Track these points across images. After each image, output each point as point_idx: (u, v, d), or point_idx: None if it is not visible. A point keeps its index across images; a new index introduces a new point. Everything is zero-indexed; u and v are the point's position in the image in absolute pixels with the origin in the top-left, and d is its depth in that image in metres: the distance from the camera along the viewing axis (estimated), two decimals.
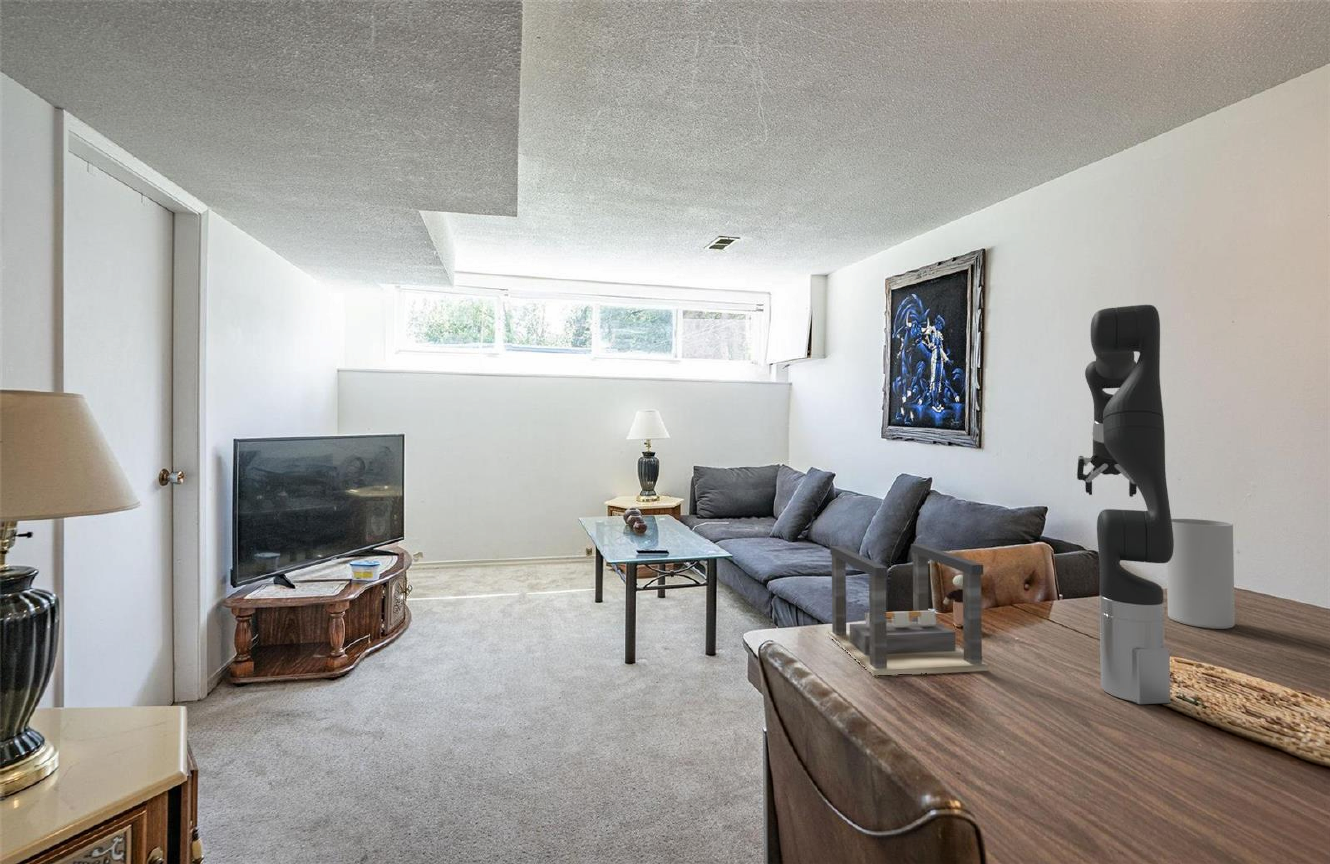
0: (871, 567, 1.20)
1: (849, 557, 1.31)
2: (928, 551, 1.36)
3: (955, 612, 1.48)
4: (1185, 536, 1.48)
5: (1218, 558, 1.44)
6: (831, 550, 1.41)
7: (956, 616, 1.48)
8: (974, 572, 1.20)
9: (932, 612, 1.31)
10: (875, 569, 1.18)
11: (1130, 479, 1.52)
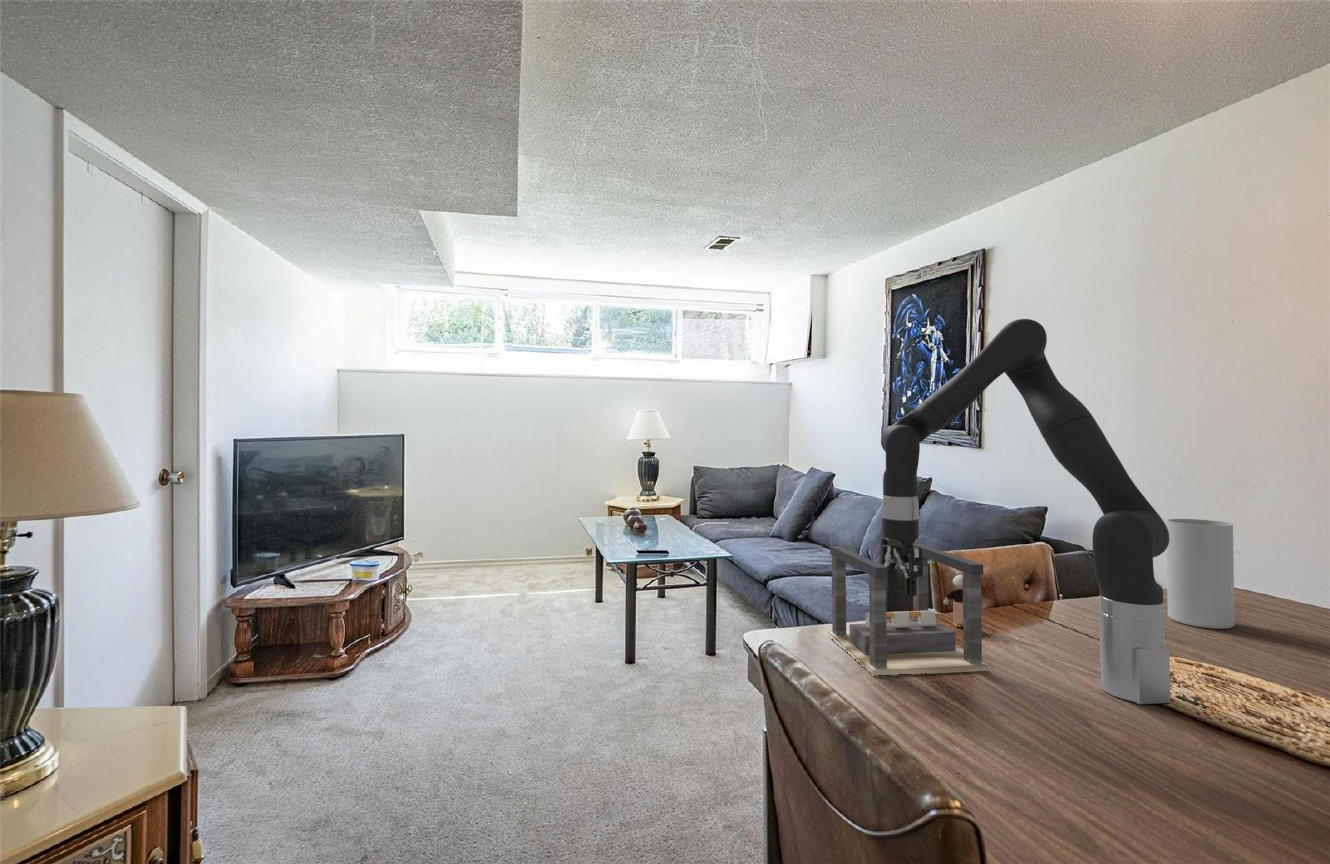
0: (871, 567, 1.20)
1: (849, 557, 1.31)
2: (928, 551, 1.36)
3: (955, 612, 1.48)
4: (1185, 536, 1.48)
5: (1218, 558, 1.44)
6: (831, 550, 1.41)
7: (956, 616, 1.48)
8: (974, 572, 1.20)
9: (932, 612, 1.31)
10: (875, 569, 1.18)
11: None
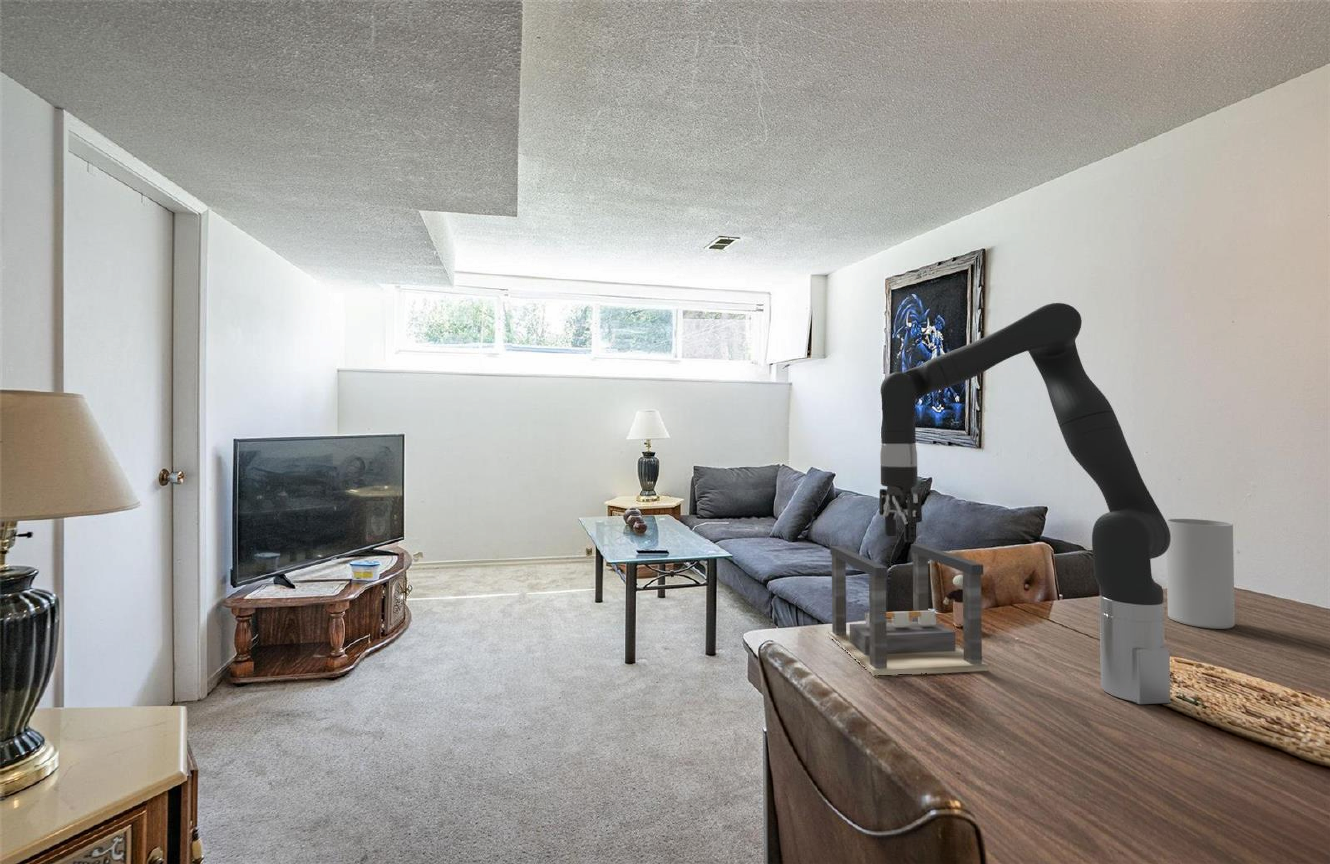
0: (871, 567, 1.20)
1: (849, 557, 1.31)
2: (928, 551, 1.36)
3: (955, 612, 1.48)
4: (1185, 536, 1.48)
5: (1218, 558, 1.44)
6: (831, 550, 1.41)
7: (956, 616, 1.48)
8: (974, 572, 1.20)
9: (932, 612, 1.31)
10: (875, 569, 1.18)
11: None
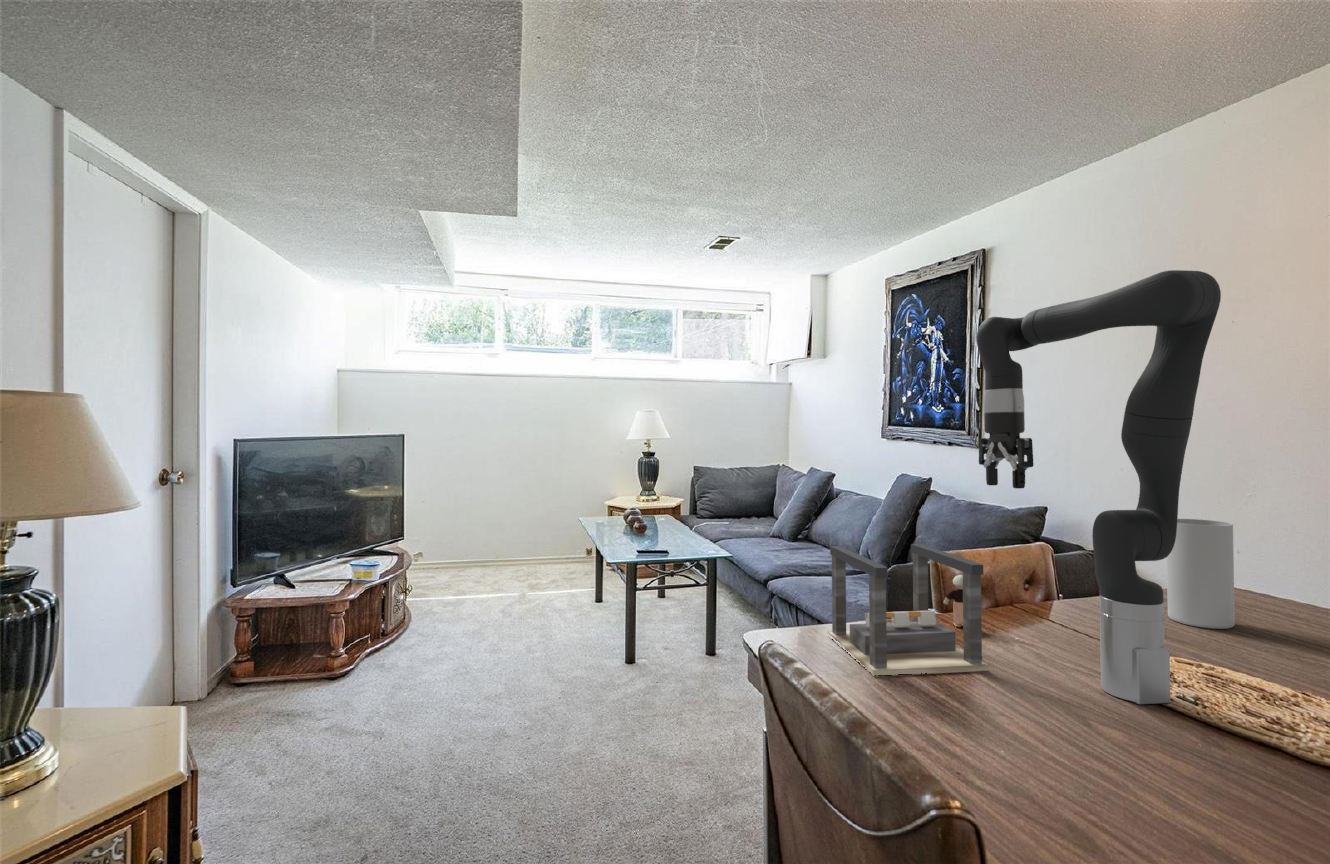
0: (871, 567, 1.20)
1: (849, 557, 1.31)
2: (928, 551, 1.36)
3: (955, 612, 1.48)
4: (1186, 536, 1.48)
5: (1218, 558, 1.44)
6: (831, 550, 1.41)
7: (956, 616, 1.48)
8: (974, 572, 1.20)
9: (932, 612, 1.31)
10: (875, 569, 1.18)
11: None
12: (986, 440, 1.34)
